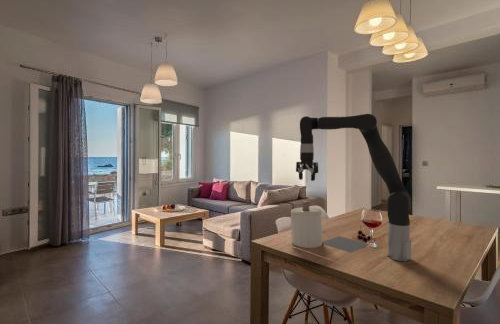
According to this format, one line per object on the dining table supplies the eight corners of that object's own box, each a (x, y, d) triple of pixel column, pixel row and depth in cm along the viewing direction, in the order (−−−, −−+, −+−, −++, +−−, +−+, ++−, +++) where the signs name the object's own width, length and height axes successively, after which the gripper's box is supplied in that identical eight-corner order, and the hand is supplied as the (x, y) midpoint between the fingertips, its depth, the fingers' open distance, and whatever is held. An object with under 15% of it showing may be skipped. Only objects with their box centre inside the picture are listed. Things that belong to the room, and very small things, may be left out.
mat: (370, 245, 155) (370, 244, 155) (351, 253, 142) (351, 252, 142) (339, 236, 170) (339, 236, 170) (319, 243, 158) (319, 242, 157)
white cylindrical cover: (328, 242, 157) (327, 201, 156) (309, 250, 146) (307, 205, 145) (305, 236, 170) (303, 198, 169) (285, 243, 159) (284, 202, 159)
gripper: (321, 151, 153) (321, 180, 154) (301, 151, 164) (301, 178, 165) (312, 151, 149) (312, 181, 149) (293, 151, 160) (292, 179, 160)
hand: (306, 180), depth 157 cm, fingers open, 8 cm apart
